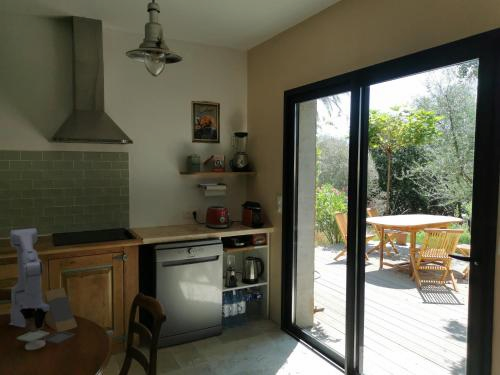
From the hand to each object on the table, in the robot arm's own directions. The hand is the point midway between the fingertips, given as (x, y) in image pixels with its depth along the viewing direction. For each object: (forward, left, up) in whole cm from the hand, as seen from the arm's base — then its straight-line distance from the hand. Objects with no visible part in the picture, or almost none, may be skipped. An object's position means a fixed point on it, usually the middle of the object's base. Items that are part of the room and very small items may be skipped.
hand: (34, 326), depth 151 cm
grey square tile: (+3, +9, -8) cm, 12 cm away
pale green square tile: (-8, +6, -8) cm, 13 cm away
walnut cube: (0, 0, -1) cm, 1 cm away
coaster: (0, 0, -8) cm, 8 cm away
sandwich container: (-7, +19, -8) cm, 22 cm away
